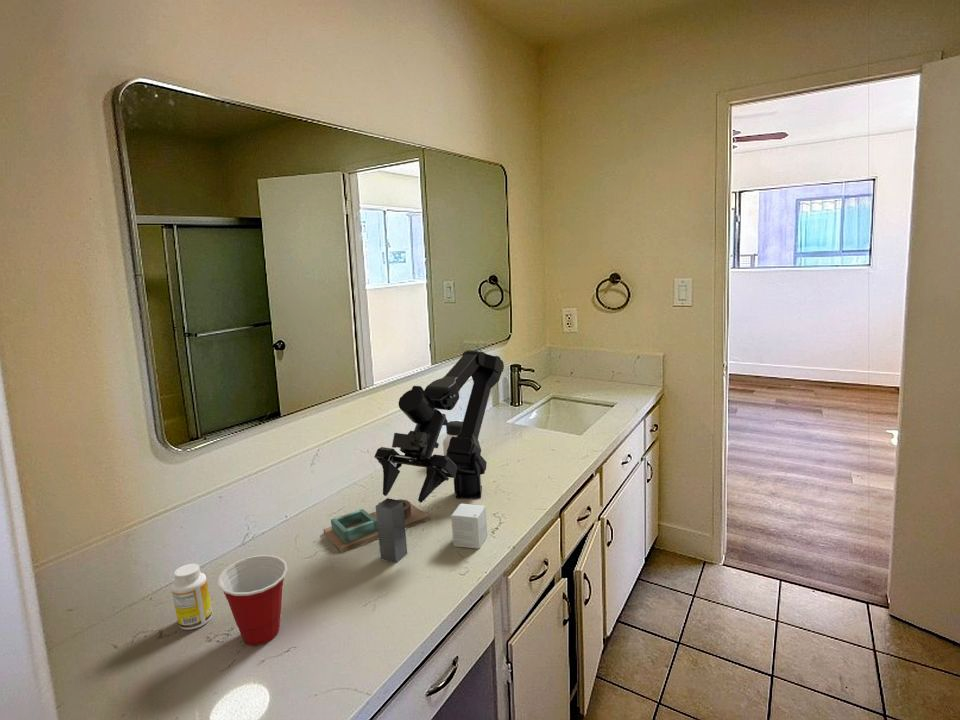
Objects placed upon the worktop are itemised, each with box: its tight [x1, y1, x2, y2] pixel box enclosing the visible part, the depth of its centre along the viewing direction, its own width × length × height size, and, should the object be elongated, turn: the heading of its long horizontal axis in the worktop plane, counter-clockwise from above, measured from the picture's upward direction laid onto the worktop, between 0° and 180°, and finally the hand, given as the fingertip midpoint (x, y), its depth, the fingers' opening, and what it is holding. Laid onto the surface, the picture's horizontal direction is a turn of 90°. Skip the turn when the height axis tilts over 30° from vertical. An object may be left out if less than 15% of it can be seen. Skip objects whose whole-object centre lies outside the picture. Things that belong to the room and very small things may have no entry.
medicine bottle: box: [442, 419, 463, 456], centre depth 170 cm, size 7×7×12 cm
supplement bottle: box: [171, 563, 213, 631], centre depth 99 cm, size 6×6×10 cm
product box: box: [450, 503, 488, 550], centre depth 121 cm, size 6×6×7 cm
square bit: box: [375, 497, 408, 564], centre depth 116 cm, size 4×4×12 cm
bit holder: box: [323, 498, 430, 553], centre depth 131 cm, size 22×11×4 cm, turn 126°
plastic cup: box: [217, 554, 288, 647], centre depth 94 cm, size 11×11×12 cm
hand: (401, 498), depth 119 cm, fingers open, 9 cm apart
